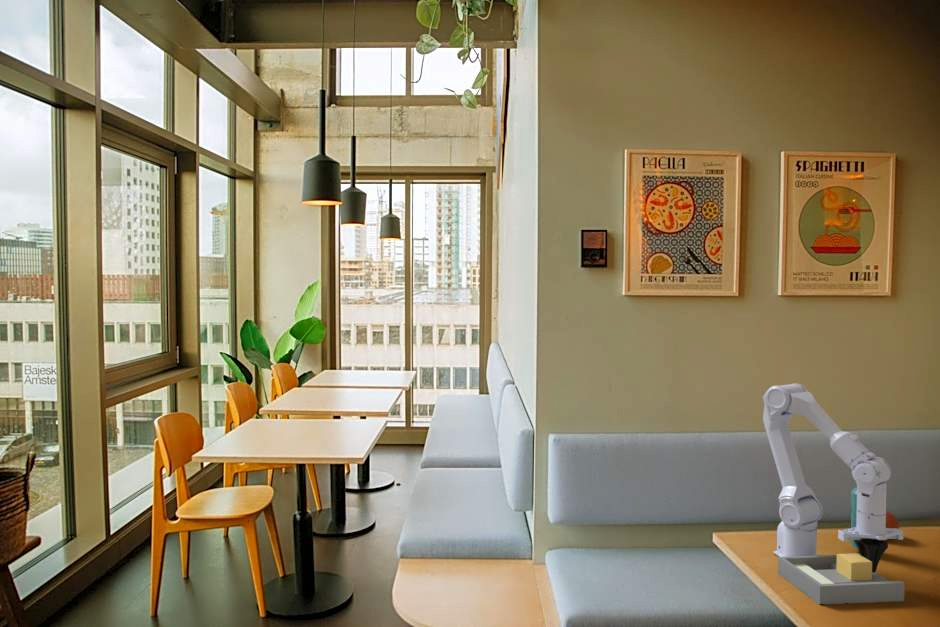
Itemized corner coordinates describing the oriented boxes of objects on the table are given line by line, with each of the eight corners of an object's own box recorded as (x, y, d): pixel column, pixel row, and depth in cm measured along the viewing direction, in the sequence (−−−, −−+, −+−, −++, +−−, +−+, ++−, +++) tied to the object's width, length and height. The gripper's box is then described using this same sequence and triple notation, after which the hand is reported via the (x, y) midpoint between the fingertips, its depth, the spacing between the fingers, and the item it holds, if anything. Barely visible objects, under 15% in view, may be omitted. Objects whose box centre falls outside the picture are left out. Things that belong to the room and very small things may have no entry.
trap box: (777, 573, 156) (778, 556, 156) (854, 570, 158) (854, 554, 158) (819, 604, 140) (820, 586, 140) (904, 601, 142) (904, 582, 142)
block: (836, 571, 152) (836, 554, 152) (856, 570, 152) (856, 553, 152) (851, 580, 147) (851, 562, 147) (871, 579, 147) (872, 561, 147)
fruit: (905, 544, 175) (906, 514, 175) (869, 541, 177) (869, 512, 177) (890, 532, 184) (890, 504, 184) (855, 530, 186) (856, 502, 185)
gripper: (853, 518, 145) (852, 579, 145) (914, 516, 146) (912, 576, 147) (832, 508, 152) (831, 566, 152) (890, 506, 153) (889, 564, 154)
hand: (870, 570), depth 150 cm, fingers closed
